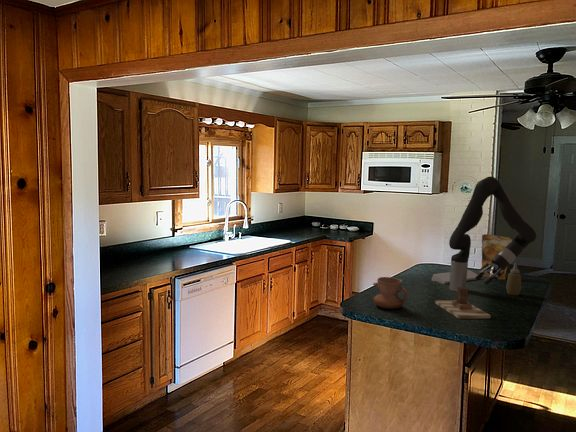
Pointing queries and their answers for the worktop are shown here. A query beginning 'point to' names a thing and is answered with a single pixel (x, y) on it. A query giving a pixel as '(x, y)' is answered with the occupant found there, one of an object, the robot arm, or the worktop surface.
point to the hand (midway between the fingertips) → (480, 281)
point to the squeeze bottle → (514, 281)
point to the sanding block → (462, 299)
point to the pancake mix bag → (493, 249)
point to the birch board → (462, 314)
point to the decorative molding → (445, 277)
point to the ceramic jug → (389, 293)
